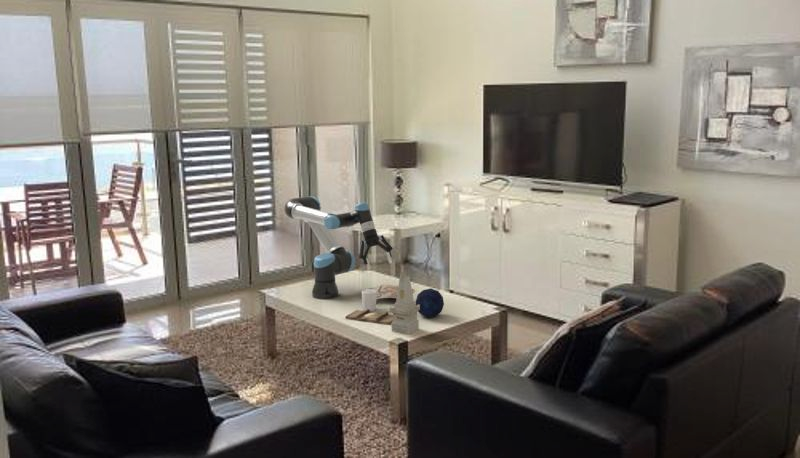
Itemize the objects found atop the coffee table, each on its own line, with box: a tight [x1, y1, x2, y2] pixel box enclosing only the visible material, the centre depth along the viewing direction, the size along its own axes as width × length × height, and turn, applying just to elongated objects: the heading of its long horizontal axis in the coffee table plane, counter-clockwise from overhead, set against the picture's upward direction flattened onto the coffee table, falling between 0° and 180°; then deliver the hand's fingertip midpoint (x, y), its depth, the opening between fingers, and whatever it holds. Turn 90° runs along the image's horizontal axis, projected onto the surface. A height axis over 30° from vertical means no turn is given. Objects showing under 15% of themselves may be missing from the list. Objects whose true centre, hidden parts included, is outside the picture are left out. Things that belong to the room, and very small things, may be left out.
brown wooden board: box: [345, 309, 393, 326], centre depth 354 cm, size 25×12×2 cm, turn 64°
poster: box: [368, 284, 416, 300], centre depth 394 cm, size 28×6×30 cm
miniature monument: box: [389, 269, 420, 335], centre depth 332 cm, size 10×10×30 cm
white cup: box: [361, 288, 377, 312], centre depth 368 cm, size 8×8×10 cm
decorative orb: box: [415, 287, 445, 319], centre depth 355 cm, size 14×15×15 cm
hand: (380, 266), depth 384 cm, fingers open, 13 cm apart
